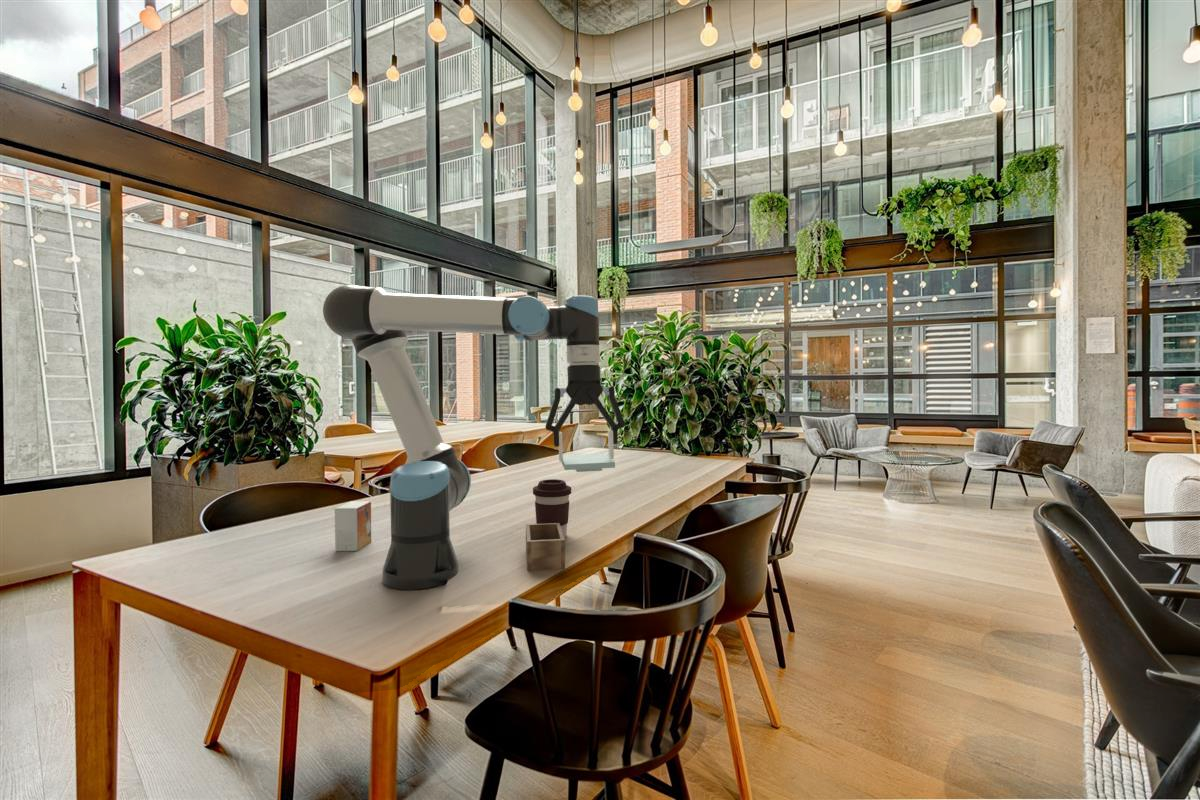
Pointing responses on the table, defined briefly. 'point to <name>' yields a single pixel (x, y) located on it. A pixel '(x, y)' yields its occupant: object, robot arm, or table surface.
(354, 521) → the small box
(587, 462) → the lid
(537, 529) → the box
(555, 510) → the coffee cup
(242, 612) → the table surface
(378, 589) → the table surface
